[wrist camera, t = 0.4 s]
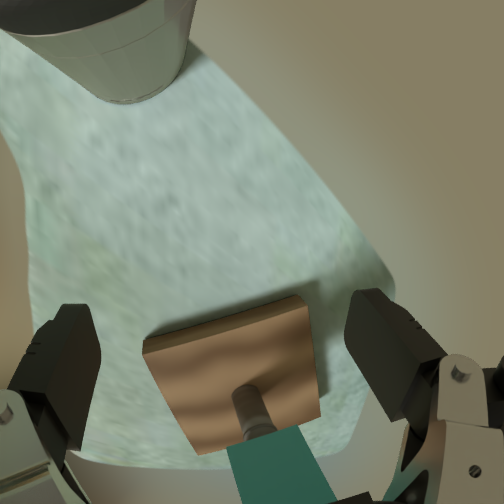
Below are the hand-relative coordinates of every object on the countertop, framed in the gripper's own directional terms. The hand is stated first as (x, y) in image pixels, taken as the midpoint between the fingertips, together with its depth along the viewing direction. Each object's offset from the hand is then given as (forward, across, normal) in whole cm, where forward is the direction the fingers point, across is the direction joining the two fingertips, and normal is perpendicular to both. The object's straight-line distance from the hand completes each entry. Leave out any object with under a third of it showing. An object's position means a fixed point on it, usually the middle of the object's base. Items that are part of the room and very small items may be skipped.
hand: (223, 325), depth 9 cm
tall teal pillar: (+6, -4, +20) cm, 21 cm away
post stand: (+17, -3, +21) cm, 27 cm away
